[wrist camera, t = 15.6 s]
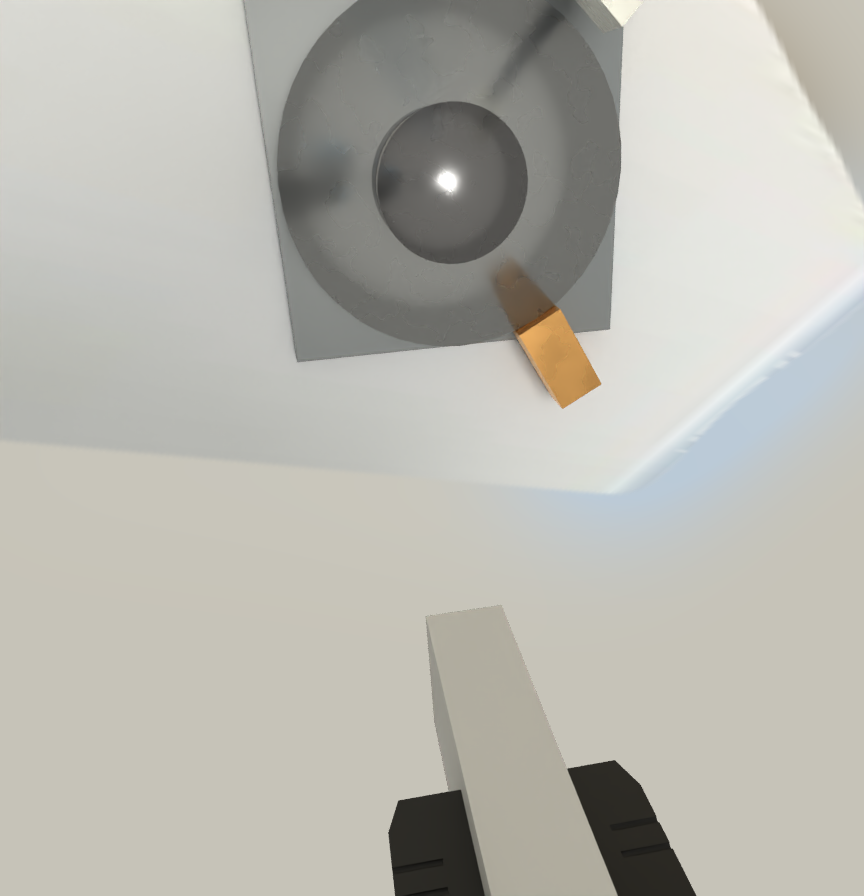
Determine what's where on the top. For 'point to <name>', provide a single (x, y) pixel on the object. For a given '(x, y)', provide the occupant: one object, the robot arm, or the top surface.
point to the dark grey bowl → (450, 181)
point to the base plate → (311, 309)
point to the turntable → (518, 105)
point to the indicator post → (609, 12)
